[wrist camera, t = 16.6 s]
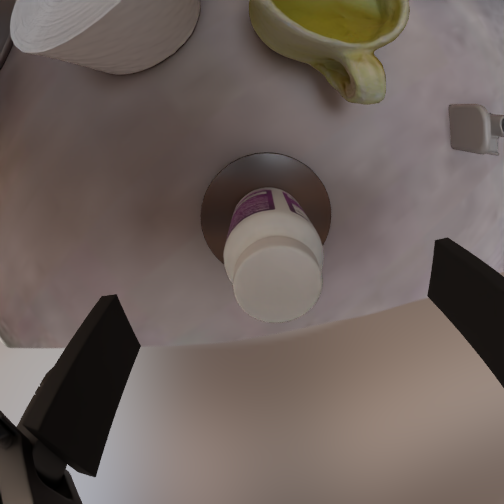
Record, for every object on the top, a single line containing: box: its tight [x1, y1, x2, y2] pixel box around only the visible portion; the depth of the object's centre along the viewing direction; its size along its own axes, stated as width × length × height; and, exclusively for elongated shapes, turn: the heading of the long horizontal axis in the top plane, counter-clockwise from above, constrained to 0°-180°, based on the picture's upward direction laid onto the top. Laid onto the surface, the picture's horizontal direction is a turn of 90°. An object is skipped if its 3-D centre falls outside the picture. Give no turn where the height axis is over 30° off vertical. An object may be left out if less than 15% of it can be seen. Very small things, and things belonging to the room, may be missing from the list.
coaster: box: [201, 153, 331, 264], centre depth 21 cm, size 10×10×1 cm
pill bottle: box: [223, 187, 324, 323], centre depth 16 cm, size 5×5×10 cm
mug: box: [249, 0, 410, 104], centre depth 12 cm, size 12×10×10 cm
